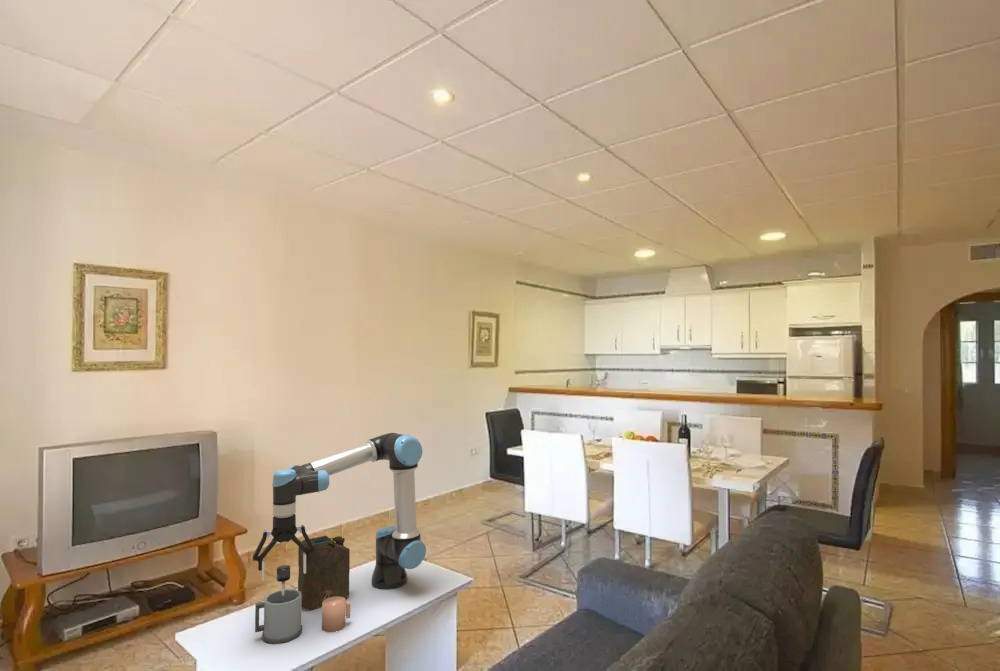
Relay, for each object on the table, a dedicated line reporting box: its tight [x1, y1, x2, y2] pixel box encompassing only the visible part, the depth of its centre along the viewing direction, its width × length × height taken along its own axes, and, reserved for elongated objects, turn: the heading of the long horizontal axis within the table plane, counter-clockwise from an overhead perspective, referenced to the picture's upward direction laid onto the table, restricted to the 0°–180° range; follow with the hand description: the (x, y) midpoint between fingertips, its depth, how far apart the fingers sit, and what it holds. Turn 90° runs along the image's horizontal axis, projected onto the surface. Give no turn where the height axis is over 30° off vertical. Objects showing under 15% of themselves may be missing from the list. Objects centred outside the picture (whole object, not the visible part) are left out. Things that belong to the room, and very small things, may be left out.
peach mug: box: [321, 596, 351, 633], centre depth 192 cm, size 10×8×9 cm
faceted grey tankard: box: [254, 588, 303, 645], centre depth 186 cm, size 15×13×13 cm
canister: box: [297, 535, 351, 611], centre depth 212 cm, size 19×8×25 cm, turn 129°
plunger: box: [276, 564, 291, 603], centre depth 187 cm, size 9×9×18 cm
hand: (284, 575), depth 188 cm, fingers open, 13 cm apart
